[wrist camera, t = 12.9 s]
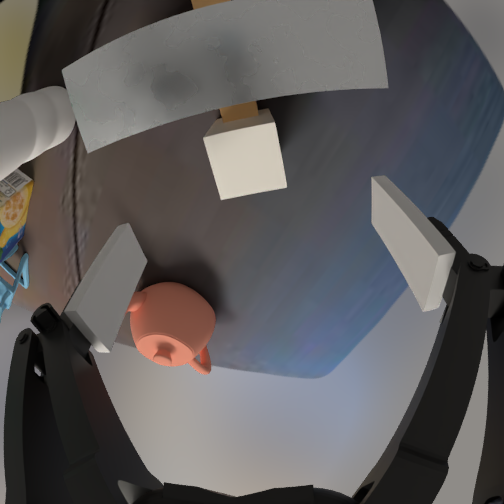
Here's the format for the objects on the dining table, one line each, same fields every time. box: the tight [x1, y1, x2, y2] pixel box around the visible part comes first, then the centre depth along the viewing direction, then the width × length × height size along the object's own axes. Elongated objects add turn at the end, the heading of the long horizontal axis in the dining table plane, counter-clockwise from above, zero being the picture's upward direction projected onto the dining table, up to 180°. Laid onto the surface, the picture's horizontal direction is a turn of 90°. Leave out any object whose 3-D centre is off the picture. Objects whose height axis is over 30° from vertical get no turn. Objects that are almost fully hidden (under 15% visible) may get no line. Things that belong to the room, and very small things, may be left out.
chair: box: [0, 244, 29, 322], centre depth 30 cm, size 8×8×12 cm
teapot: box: [124, 282, 216, 374], centre depth 36 cm, size 12×18×10 cm
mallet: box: [191, 0, 287, 200], centre depth 18 cm, size 20×5×8 cm, turn 12°
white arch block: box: [62, 0, 388, 153], centre depth 16 cm, size 6×24×12 cm, turn 102°
